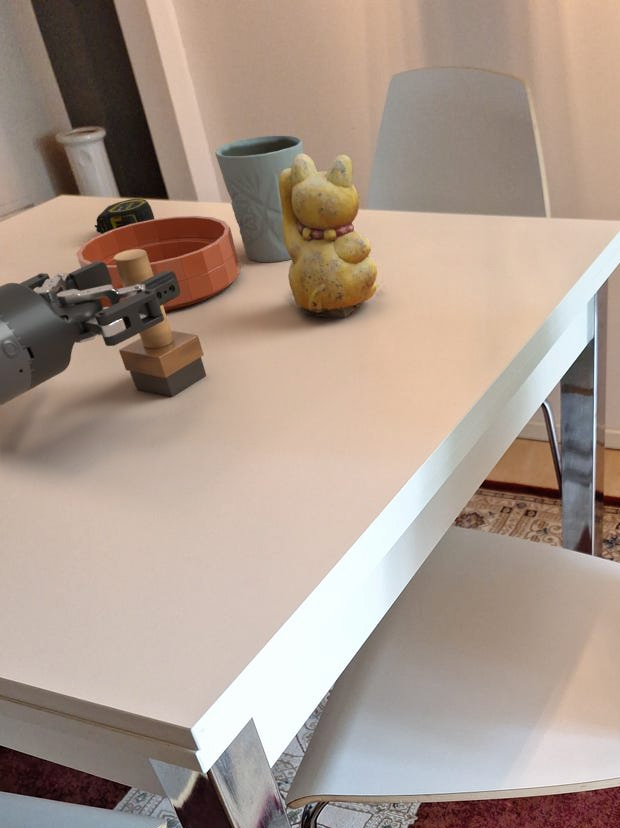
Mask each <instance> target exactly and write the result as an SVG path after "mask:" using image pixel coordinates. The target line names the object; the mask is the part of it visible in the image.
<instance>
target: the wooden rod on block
mask: <svg viewBox="0 0 620 828" xmlns="http://www.w3.org/2000/svg"><path fill="white" fill-rule="evenodd" d="M114 260H115V263H116V266H117V269H118V272H119V275H120V278H121V281H122V284H123V287H124V288H125V287H129V286H134V285H136V284H138V283H140V282H142V281H144V280H146V279H148V278H150V277H152V276H154V275H153V272H152V269H151V266H150V262H149V259H148V256H147V253H146V251H145V250H141V249H134V250H128V251H124V252H121V253H119V254H117V255H115V256H114ZM128 298H129V297H128ZM160 308H161V311H162V313H163V316H164V321H162V322H160V323H158V324H156V325H154V326H152V327H150V328H148V329H147V330H145V331H143V332H141V333H139V334H138V335H139V336H140V338H138V339H136V340H134V341H132V342H131V343H129V344H126V346H124V347H121V348H120V349H119V350H118V352H119V355H120V357H121V361H122V363H123V366H124V369H125V370H126V371H129V373H130V376H131V379H132V382H133V385H134V387H135V389H136V390H137V391H143V392H149V393H153V394H157V395H162V396H167V397H175V396H176V395H178V394H179V393H180V392H182V391H185V389H187V388H189V387H191V386H192V385H194V384H195V383H197V382H198V381H200V380H202V379H204V377H206V376H207V372H206V369H205V366H204V363H203V359H202V357H203V356H204V355H205V354H204V351H203V347H202V345H201V342H200V338H199V335H198V334H193V333H187V332H181V331H177V330H172V329H171V326H170V323H169V319H168V317H167V314H166V311H165V310H164V307H163V305H161V306H160Z"/></svg>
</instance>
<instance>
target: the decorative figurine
mask: <svg viewBox="0 0 620 828" xmlns="http://www.w3.org/2000/svg"><path fill="white" fill-rule="evenodd" d="M353 165H354V164H353V161H352V159H351V158H350V156H348V155H347V154H340V155H338V156H336V157H335V158H334V159H333V161H332V162H331V164H330V165H329V168H328V170H327V171H318V170H317V168H316V165H315V162H314V161H313V159H312V158H311V157H310V156H309V155H308V154H305V153H304V152H303V153H301V154H298V155H297V156H295V158H294V159H293V163H292V167H291V168H287V169H284V170H283V171H282V172H281V173H280V175H279V192H280V199H281V207H282V225H283V236H284V241H285V245H286V249H287V251H288V253H289V255H290V257H291V259H290V260H291V263H290V265H289V268H288V275H287V276H288V282H289V287H290V290H291V293H292V296H293V298H294V302H295V304H296V305H297V306H298V307H300V308H303V309H304V316H307V317H308V316H309V317H310V316H314V317H315V316H317V317H331V318H347V316H349V315H350V314H351V313H352V312H353V311H354V310H355V309H359V308H360V307H361V305H363V304H364V302H366V301H368V300H370V299H371V298H372V297H373V296H374V294H375V293H376V291H377V287H378V285H377V283H376V280H377V276H378V268H377V264H376V262H375V261H374V259H373V258H372V257H371V256H369V255H370V253H371V251H372V247H371V243H370V240H369V239H368V238H366V237H365V236H364V235H363V236H362V235H360V233H357V232H356V231H355V230H354V229H355V226H354V224H353V222H354V221H355V219H356V218H357V216H358V214H359V209H360V195H359V194H358V192H357V189H356V187H355V186H354V182H353V181H354V166H353Z"/></svg>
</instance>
